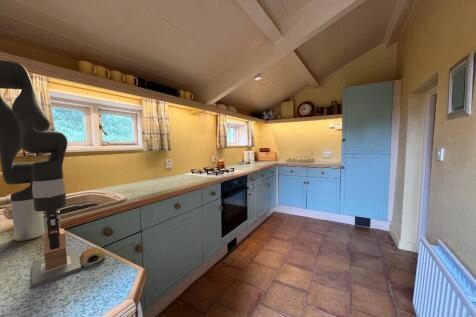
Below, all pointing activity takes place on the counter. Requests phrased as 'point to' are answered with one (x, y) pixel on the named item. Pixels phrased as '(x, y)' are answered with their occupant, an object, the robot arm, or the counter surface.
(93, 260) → the pastry
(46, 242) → the terracotta block
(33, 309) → the counter surface
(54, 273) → the plate
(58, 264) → the walnut block
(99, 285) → the counter surface
